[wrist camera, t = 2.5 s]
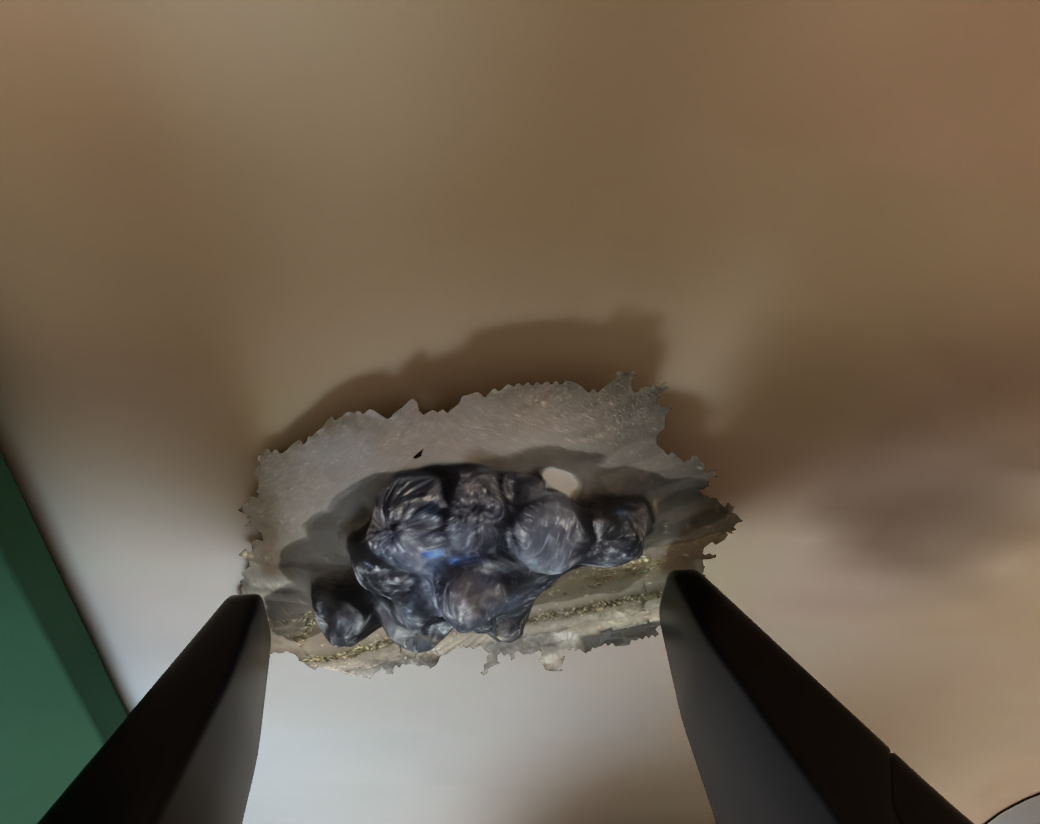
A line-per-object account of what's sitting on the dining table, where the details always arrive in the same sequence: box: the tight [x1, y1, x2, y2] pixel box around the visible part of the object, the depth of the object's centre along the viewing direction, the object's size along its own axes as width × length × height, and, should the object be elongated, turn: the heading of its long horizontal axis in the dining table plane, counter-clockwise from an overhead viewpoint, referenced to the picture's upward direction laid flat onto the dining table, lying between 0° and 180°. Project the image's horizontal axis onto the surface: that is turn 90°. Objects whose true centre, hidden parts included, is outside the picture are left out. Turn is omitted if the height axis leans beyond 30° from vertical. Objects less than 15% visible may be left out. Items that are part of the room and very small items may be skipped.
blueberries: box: [238, 370, 742, 679], centre depth 10 cm, size 7×8×2 cm
